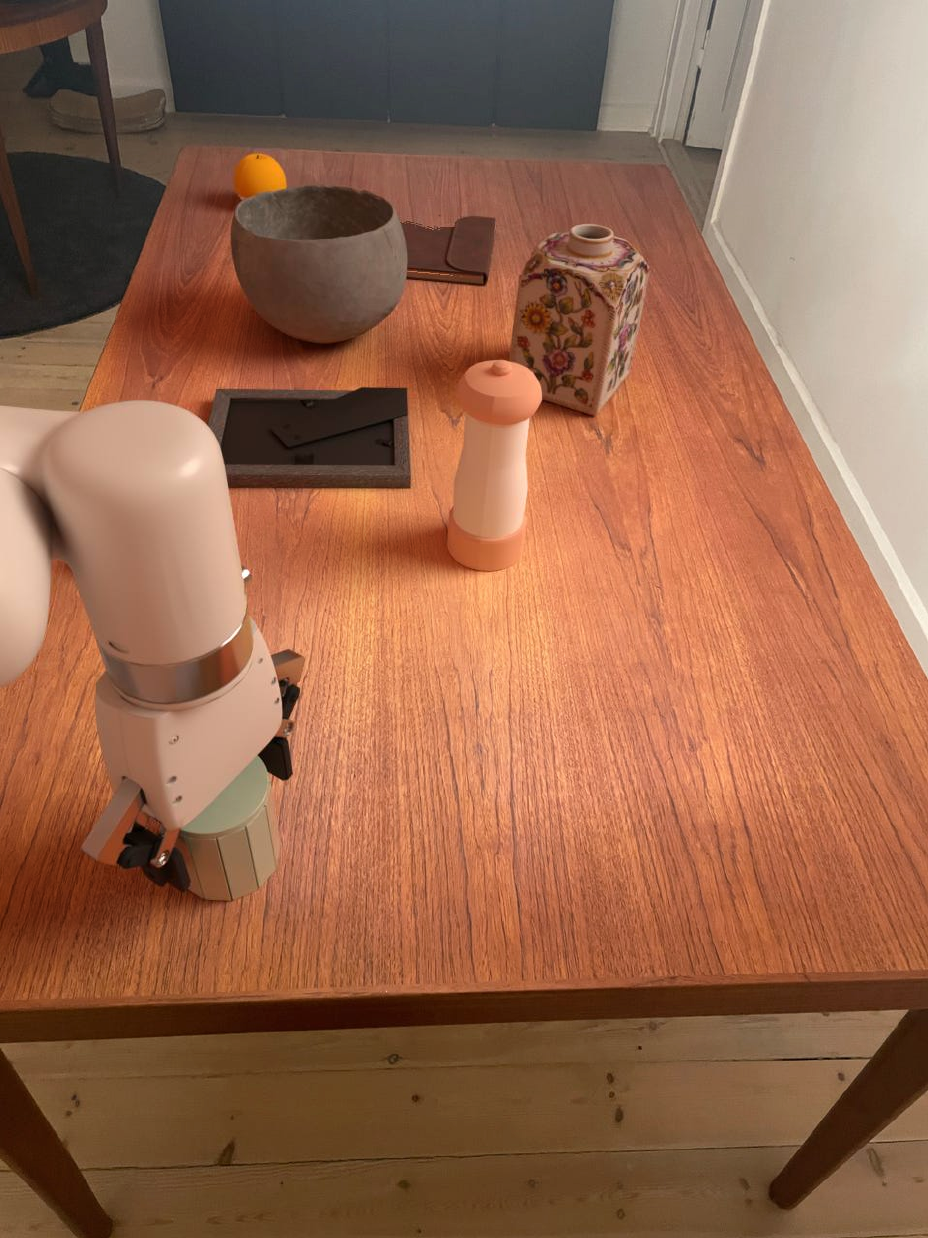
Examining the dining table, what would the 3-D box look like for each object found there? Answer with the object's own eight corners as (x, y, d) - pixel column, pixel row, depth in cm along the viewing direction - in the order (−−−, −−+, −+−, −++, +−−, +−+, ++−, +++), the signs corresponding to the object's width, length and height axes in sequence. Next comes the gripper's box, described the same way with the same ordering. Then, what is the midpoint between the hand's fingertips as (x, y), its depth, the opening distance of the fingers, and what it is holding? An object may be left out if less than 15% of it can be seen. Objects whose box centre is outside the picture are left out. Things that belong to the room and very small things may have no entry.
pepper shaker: (486, 512, 90) (503, 331, 76) (539, 549, 86) (566, 366, 73) (431, 542, 86) (438, 357, 73) (483, 582, 82) (501, 396, 69)
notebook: (379, 275, 126) (379, 261, 125) (399, 221, 140) (399, 208, 139) (487, 285, 126) (488, 271, 124) (496, 230, 140) (497, 216, 138)
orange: (277, 193, 146) (272, 142, 140) (296, 210, 141) (292, 159, 136) (228, 200, 143) (222, 148, 137) (246, 218, 138) (240, 166, 133)
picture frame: (406, 403, 103) (218, 400, 101) (406, 387, 102) (215, 384, 100) (410, 487, 92) (198, 487, 90) (410, 471, 90) (195, 470, 89)
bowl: (431, 313, 119) (435, 194, 109) (363, 386, 105) (360, 258, 95) (292, 280, 124) (283, 163, 113) (209, 346, 110) (190, 219, 99)
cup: (233, 919, 58) (216, 853, 53) (122, 845, 61) (95, 776, 56) (300, 841, 62) (291, 772, 57) (192, 776, 66) (174, 705, 60)
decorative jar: (596, 419, 103) (624, 263, 90) (504, 390, 106) (518, 236, 94) (631, 374, 111) (662, 224, 98) (544, 348, 114) (563, 200, 101)
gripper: (234, 523, 53) (265, 709, 65) (-15, 715, 42) (77, 895, 55) (337, 571, 51) (350, 756, 63) (100, 788, 40) (170, 961, 52)
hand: (223, 820), depth 59 cm, fingers open, 9 cm apart
